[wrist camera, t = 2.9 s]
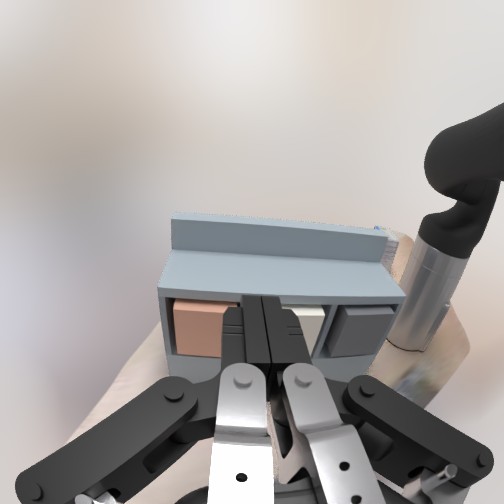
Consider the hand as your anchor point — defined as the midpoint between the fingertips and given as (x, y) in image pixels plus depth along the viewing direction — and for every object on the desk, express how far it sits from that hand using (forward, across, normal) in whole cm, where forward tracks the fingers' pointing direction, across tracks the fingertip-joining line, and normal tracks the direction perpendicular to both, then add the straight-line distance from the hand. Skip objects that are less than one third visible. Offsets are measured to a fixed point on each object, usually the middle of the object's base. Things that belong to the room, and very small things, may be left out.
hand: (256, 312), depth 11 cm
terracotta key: (+12, +3, +14) cm, 19 cm away
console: (+16, -6, +21) cm, 27 cm away
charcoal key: (+12, -13, +14) cm, 23 cm away
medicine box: (+43, -35, +21) cm, 59 cm away
